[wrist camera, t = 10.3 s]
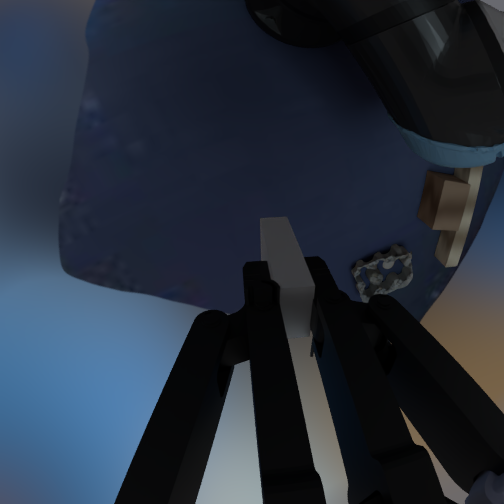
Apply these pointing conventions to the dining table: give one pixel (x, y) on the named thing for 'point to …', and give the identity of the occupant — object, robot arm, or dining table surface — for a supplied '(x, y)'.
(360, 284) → the egg carton
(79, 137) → the dining table surface
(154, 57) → the dining table surface
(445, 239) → the board
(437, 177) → the block
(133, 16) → the dining table surface
